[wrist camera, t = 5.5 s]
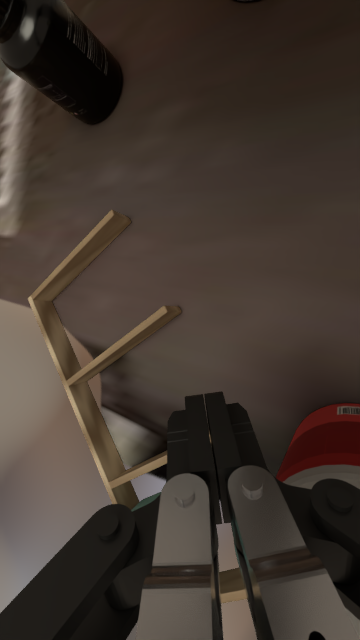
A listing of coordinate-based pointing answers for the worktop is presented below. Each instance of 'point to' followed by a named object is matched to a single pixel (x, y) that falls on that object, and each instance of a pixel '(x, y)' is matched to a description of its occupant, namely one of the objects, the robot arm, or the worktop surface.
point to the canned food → (325, 452)
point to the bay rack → (77, 377)
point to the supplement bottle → (59, 57)
